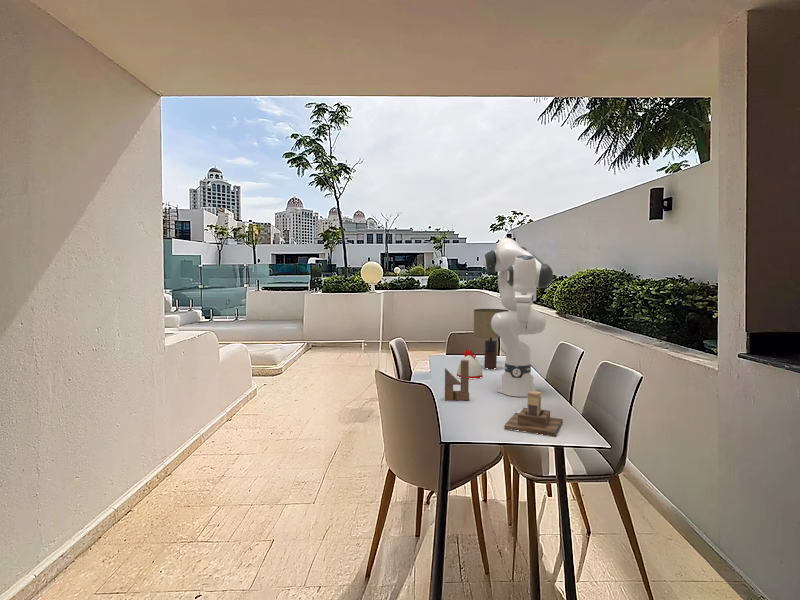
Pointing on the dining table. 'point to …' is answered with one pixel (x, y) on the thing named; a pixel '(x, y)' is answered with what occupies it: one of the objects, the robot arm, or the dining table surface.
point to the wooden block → (457, 383)
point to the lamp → (487, 334)
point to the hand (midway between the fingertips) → (524, 330)
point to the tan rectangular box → (534, 403)
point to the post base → (534, 423)
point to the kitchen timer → (471, 365)
